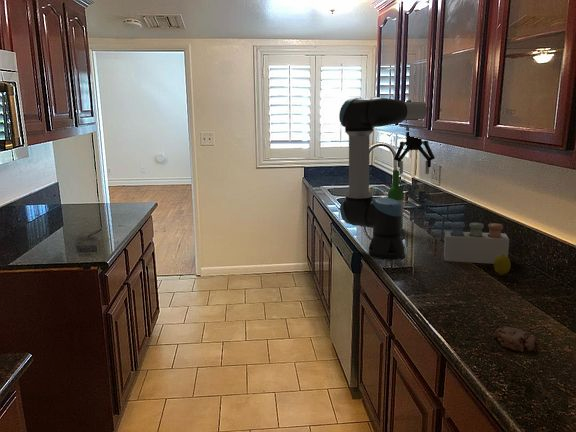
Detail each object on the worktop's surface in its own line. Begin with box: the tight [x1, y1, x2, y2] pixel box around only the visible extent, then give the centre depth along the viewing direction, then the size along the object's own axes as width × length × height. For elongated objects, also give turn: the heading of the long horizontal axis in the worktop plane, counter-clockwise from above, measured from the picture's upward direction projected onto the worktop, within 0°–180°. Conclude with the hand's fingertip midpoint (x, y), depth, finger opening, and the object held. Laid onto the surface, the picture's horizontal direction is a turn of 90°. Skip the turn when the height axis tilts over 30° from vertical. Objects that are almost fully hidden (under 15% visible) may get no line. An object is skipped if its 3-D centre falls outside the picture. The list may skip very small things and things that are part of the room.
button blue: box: [450, 221, 466, 236], centre depth 184 cm, size 5×5×6 cm
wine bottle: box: [387, 169, 404, 230], centre depth 231 cm, size 8×8×30 cm
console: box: [443, 230, 510, 265], centre depth 184 cm, size 23×9×10 cm, turn 74°
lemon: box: [493, 254, 512, 276], centre depth 165 cm, size 6×6×8 cm
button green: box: [469, 222, 484, 237], centre depth 182 cm, size 5×5×6 cm
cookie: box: [493, 326, 536, 353], centre depth 120 cm, size 10×11×3 cm
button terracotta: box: [487, 222, 504, 238], centre depth 180 cm, size 5×5×6 cm
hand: (414, 174), depth 231 cm, fingers open, 13 cm apart
